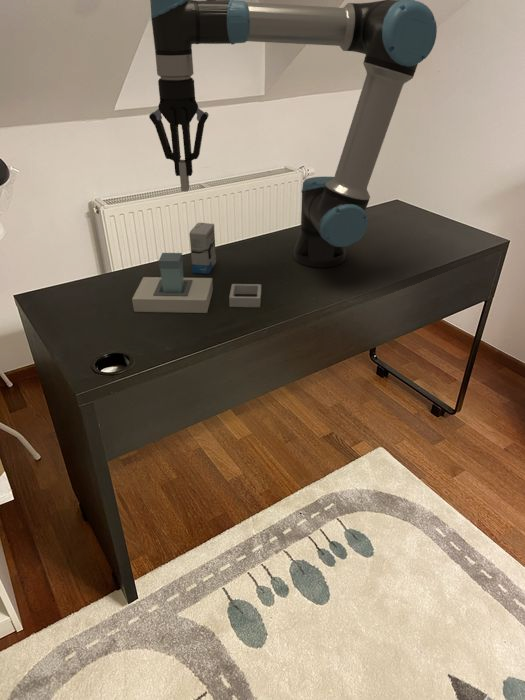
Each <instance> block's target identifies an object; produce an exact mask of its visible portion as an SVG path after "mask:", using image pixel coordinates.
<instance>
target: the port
mask: <svg viewBox="0 0 525 700" xmlns="http://www.w3.org/2000/svg"><path fill="white" fill-rule="evenodd" d="M184 287H185V290H184V293H163V287H162V279H161V276H160V277H157V276H156V277H155V276H153V277H151V276H143V277H142V279H141V281H140V283H139V285H138V287H137V288H136V291H135V292H134V294H133V297H132V298H131V300H132V307H133V312H134V313H135V312H136V313H138V312H139V313H188V314H189V313H191V314H192V313H197V314H202V313H203V314H208V310H209V307H210V304H211V299H212V295H213V291H214V285H213V278H212V277H184Z"/></svg>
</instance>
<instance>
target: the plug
mask: <svg viewBox="0 0 525 700" xmlns="http://www.w3.org/2000/svg"><path fill="white" fill-rule="evenodd" d="M183 260H184V259H183V253H182V252H161V254H160V257H159V258H158V269H160V277H161V279H162V287H163V293H184V290H185V287H184V278H185V277H184V269H183Z"/></svg>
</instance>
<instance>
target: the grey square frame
mask: <svg viewBox="0 0 525 700" xmlns="http://www.w3.org/2000/svg"><path fill="white" fill-rule="evenodd" d="M236 295H256V296H236ZM228 302H229V308H261V302H262V284H259V283H255V284H253V283H252V284H251V283H232V284H231V287H230V292H229V298H228Z"/></svg>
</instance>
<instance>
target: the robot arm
mask: <svg viewBox="0 0 525 700" xmlns="http://www.w3.org/2000/svg"><path fill="white" fill-rule="evenodd" d="M149 1H150V14H151V15H150V18H151V26H152V28H151V29H152V35H153V36H152V37H153V44H154V45H153V46H154V50H155V51H154V52H155V53H154V54H155V65H156V74H157V76H158V77H160V78H159V79H158V80H157V82H158V83H157V85H158V94H159V95H158V96H159V104H158V106H157V107H158V108H157V109H156V110H155V111H153V112H151V113H150V114H149V115H148V116H149V120H150V121H151V122H152V124H153V125H154V127H155V129H156V133H157V136H158V139H159V142H160V144H161V147H162V151H163V154H164V157H165V159H167V160H171V161H173V163H174V164H173V165H174V174H175V176H176V177H179V179H180V181H179V182H180V192H188V191H189V190H190V180H189V179H190V177H191V176H192V175H193V172H194V171H193V161H194V160H197V159H198V158H199V156H200V152H201V146H202V143H203V142H202V140H203V134H204V128H205V123H206V122H207V120H208V118H209V116H210V115H209V113H208V112H207V111H204V110H202V109H200V108H199V104H198V103H197V100H196V92H195V90H196V89H195V79H194V78H193V77H192V76H193V75H194V64H193V49H192V47H193V46H192V45H200V44H204V45H207V44H208V45H221V44H223V45H224V44H225V45H226V44H227V45H230V44H231V45H235V44H245V43H247V42H255V43H256V42H257V43H273V44H274V43H276V44H277V43H278V44H296V45H312V46H313V45H314V46H315V45H316V46H318V45H319V46H333V47H334V46H336V47H337V46H339V48H340V49H341V50H342V51H343V52H354V53H355V52H356V53H358V54H364V55H365V57H364V60H363V62H362V64H363V67H364V69H365V71H366V76H365V79H364V82H363V85H362V88H361V91H360V94H359V98H358V101H357V104H356V107H355V111H354V113H353V117H352V119H351V120H352V121H351V123H350V126H349V128H348V129H349V130H348V132H347V136H346V139H345V141H344V145H343V149H342V152H341V155H340V156H339V157H340V158H339V161H338V164H337V167H336V171H335V174H334V176H314V177H308V178H306V179H305V180H304V181H302V189H301V191H300V192H301V207H300V208H301V210H300V211H301V212H300V213H301V215H300V232H299V235H298V237H297V240H296V243H295V246H294V248H293V258H294V260H295V261H296V262H297V263H299V264H301V265H302V266H307V267H311V268H320V269H321V268H331V267H336V266H339V265H341V264H343V263H344V262H345V260H346V247H349V246H351V245H353V244H354V243H357V242H358V241H359V240H361V239H362V238H363V236H364V235H365V233H366V232H367V229H368V225H369V221H368V220H369V219H368V214H367V212H366V210H367V207H368V205H369V202H370V199H371V196H370V193H369V191H368V186H369V183H370V180H371V178H372V175H373V173H374V168H375V167H376V164H377V160H378V158H379V154H380V152H381V149H382V146H383V143H384V141H385V138H386V134H387V132H388V129H389V127H390V123H391V120H392V118H393V115H394V112H395V110H396V106H397V104H398V102H399V101H398V100H399V98H400V95H401V93H402V90H403V87H404V85H405V84H406V83H407V82H409V81H411V80H412V79H413V78H414V76H415V73H416V71H417V67H418V65H419V64H420V63H422V62H423V61H424V60H425V59H426V58H427V57H428V56H429V55H430V53H431V52H432V50H433V49H434V46H435V44H436V39H437V33H438V27H437V21H436V19H435V16H434V14H433V11H432V10H431V9H430V8H429V6H427V5H426V4H425V3H423V2H421V1H418V0H378V1H377V0H376V1H372V2H363V3H362V2H348V3H346V4H345V5H344V6H343V7H336V6H335V7H334V6H319V5H316V6H315V5H304V4H303V5H300V4H284V3H283V4H282V3H268V2H267V3H266V2H252V1H251V2H248V1H245V0H149ZM195 115H196V120H197V121H198V122H197V126H196V132H195V137H194V138H195V139H194V144H193V151H192V141H191V124H190V123H191V121H192V120H193V119H194V117H195ZM163 117H164V118H165V120H166V121H167V122H168V123H169V129H170V137H171V144H170V141H169V138H168V136H167V133H166V129H165V127H164V123H163V121H162V120H163ZM179 125H180V126H181V130H182V131H181V132H182V139H183V140H182V141H183V142H182V143H183V151H184V152H183V153H184V159H181V157H182V156H181V147H180V135H179ZM171 146H172V147H171Z"/></svg>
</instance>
